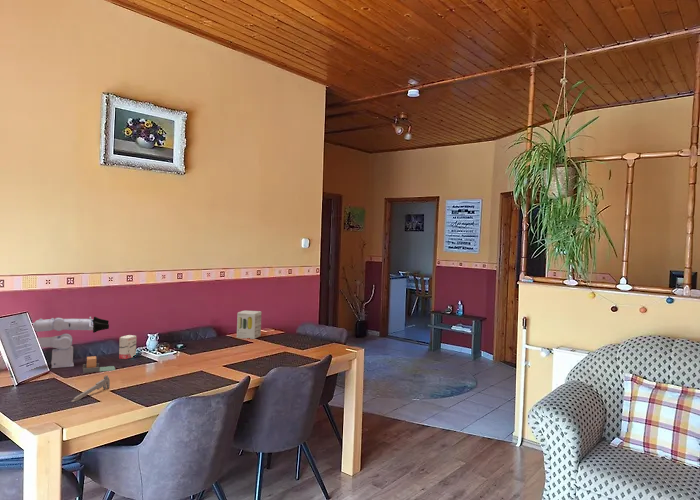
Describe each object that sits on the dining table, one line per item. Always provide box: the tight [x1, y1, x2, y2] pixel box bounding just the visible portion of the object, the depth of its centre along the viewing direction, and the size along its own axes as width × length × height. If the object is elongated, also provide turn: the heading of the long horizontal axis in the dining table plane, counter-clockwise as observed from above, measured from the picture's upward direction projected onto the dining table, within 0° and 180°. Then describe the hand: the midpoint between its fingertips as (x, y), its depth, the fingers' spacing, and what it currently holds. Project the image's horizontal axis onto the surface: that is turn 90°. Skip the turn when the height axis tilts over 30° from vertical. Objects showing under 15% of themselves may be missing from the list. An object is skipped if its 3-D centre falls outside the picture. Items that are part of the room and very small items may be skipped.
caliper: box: [70, 374, 111, 403], centre depth 205 cm, size 20×1×6 cm, turn 166°
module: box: [86, 355, 97, 368], centre depth 241 cm, size 4×6×6 cm, turn 30°
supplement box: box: [236, 310, 263, 340], centre depth 342 cm, size 13×13×18 cm
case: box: [82, 362, 101, 374], centre depth 244 cm, size 7×15×2 cm, turn 30°
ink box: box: [118, 334, 137, 360], centre depth 270 cm, size 9×5×12 cm, turn 168°
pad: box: [99, 365, 116, 372], centre depth 245 cm, size 7×9×1 cm
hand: (108, 324), depth 258 cm, fingers open, 7 cm apart
